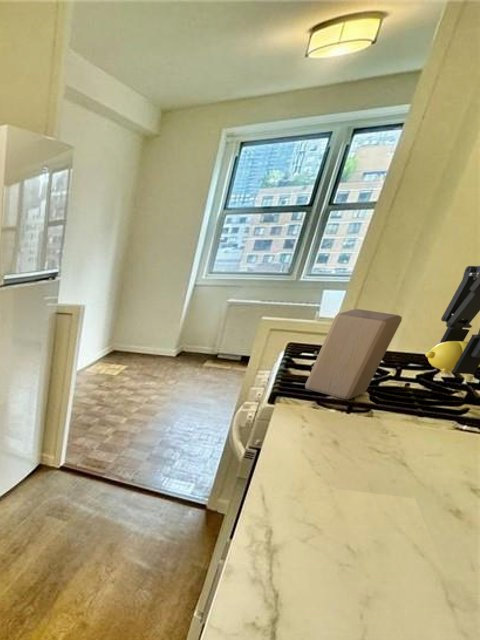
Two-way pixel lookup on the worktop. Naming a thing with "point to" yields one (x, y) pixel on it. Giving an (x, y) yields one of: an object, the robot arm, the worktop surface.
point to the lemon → (446, 355)
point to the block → (352, 352)
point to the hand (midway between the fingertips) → (451, 367)
